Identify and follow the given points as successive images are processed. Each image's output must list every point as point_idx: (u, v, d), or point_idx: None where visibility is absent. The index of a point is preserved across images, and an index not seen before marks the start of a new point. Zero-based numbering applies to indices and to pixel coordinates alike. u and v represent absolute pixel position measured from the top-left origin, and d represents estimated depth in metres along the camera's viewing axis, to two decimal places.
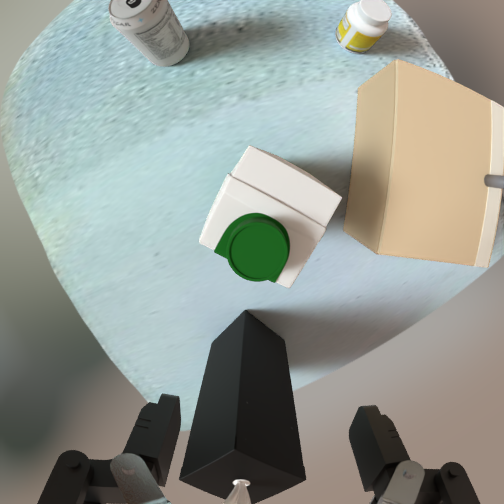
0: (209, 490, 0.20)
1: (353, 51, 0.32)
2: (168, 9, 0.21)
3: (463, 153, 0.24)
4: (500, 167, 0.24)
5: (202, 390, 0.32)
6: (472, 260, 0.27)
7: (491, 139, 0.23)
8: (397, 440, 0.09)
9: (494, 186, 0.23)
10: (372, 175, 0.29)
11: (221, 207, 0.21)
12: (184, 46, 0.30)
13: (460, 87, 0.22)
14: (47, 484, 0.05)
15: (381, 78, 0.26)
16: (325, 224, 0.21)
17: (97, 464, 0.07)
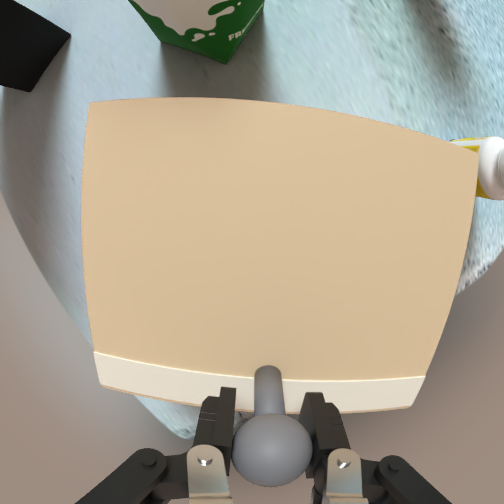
0: None
1: None
2: None
3: (320, 303, 0.14)
4: (298, 405, 0.15)
5: None
6: (101, 345, 0.14)
7: (353, 380, 0.15)
8: (340, 428, 0.10)
9: (256, 389, 0.13)
10: None
11: None
12: None
13: (448, 299, 0.14)
14: (112, 474, 0.06)
15: None
16: None
17: (169, 459, 0.08)
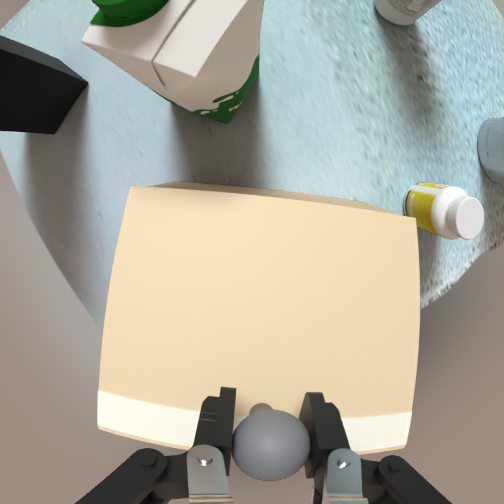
0: None
1: (406, 200, 0.30)
2: None
3: (302, 342, 0.16)
4: None
5: (3, 37, 0.15)
6: (107, 383, 0.15)
7: (342, 418, 0.15)
8: (340, 428, 0.10)
9: None
10: (244, 192, 0.23)
11: None
12: (397, 14, 0.22)
13: (414, 335, 0.16)
14: (112, 474, 0.06)
15: (380, 211, 0.23)
16: (156, 60, 0.12)
17: (169, 460, 0.08)
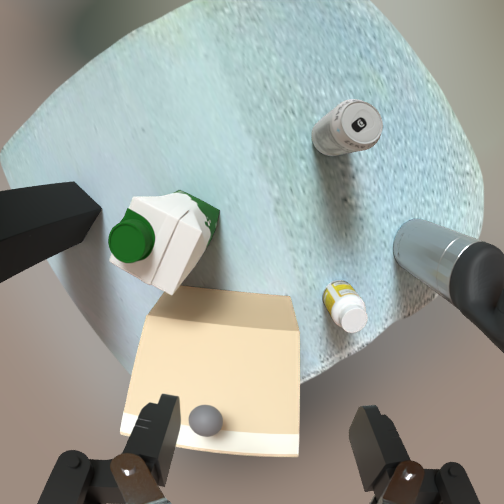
0: None
1: (323, 294, 0.48)
2: (351, 151, 0.32)
3: (230, 392, 0.31)
4: (225, 446, 0.26)
5: (34, 188, 0.33)
6: (129, 409, 0.28)
7: (253, 433, 0.28)
8: (397, 440, 0.09)
9: None
10: (207, 309, 0.41)
11: (157, 213, 0.28)
12: (326, 153, 0.40)
13: (296, 392, 0.31)
14: (47, 484, 0.05)
15: (288, 319, 0.41)
16: (152, 284, 0.30)
17: (98, 464, 0.07)
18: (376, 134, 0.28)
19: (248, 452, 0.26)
